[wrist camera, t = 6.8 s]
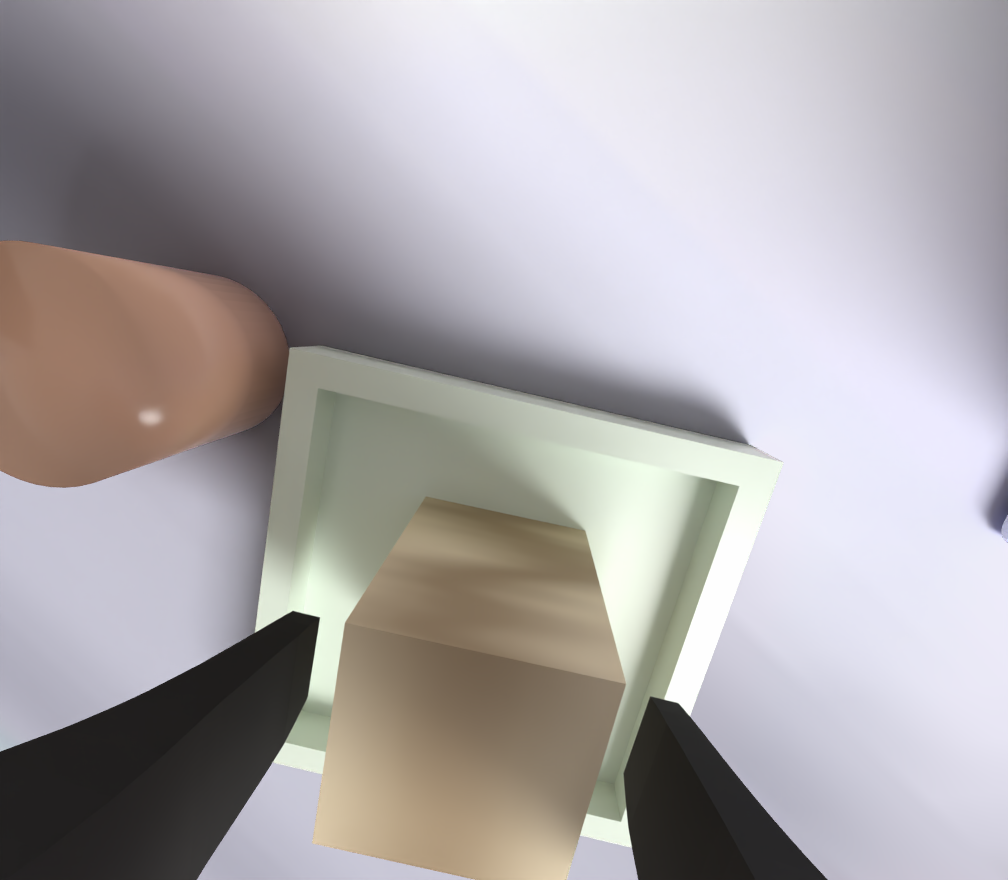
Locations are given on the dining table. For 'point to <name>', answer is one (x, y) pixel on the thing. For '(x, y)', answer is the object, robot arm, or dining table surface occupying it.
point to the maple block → (472, 699)
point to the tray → (516, 491)
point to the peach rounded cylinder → (125, 363)
